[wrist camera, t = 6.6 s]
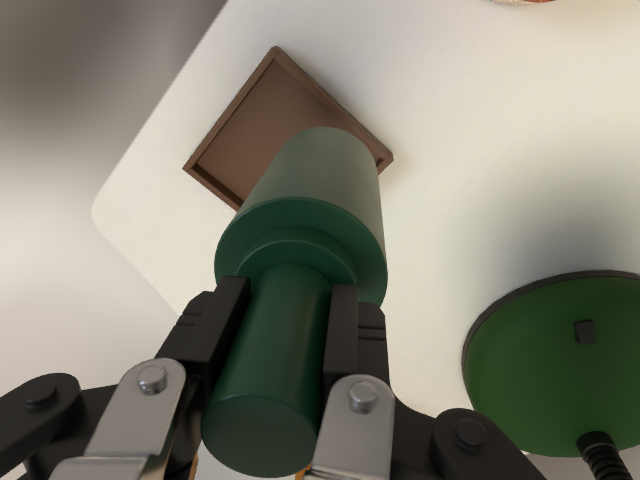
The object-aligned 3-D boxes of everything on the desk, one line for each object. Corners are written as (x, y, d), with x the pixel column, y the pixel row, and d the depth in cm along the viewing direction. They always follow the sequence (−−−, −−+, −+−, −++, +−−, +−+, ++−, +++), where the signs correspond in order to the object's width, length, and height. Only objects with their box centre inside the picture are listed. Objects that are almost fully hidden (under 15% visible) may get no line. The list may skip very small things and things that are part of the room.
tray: (189, 162, 40) (181, 168, 39) (276, 45, 35) (272, 47, 33) (298, 248, 44) (295, 258, 42) (392, 153, 38) (393, 159, 37)
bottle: (251, 157, 23) (60, 383, 8) (347, 105, 21) (314, 275, 7) (304, 244, 25) (222, 546, 10) (395, 202, 23) (449, 491, 9)
